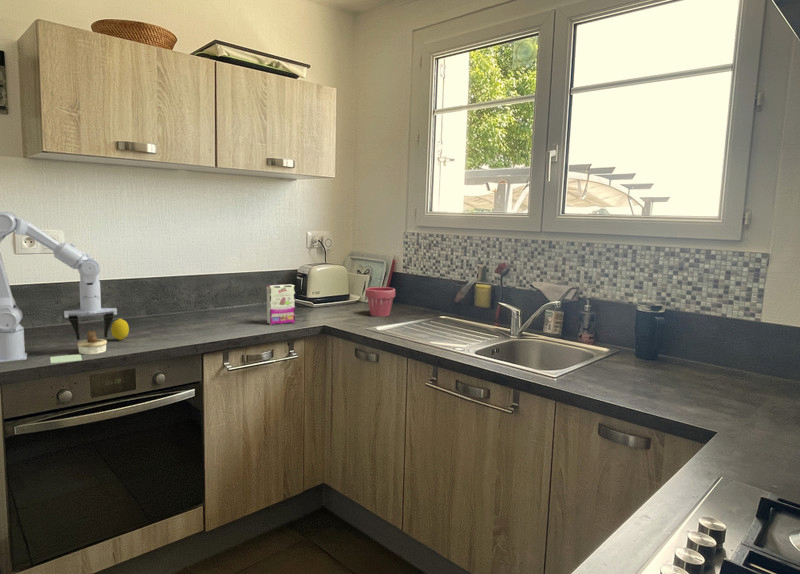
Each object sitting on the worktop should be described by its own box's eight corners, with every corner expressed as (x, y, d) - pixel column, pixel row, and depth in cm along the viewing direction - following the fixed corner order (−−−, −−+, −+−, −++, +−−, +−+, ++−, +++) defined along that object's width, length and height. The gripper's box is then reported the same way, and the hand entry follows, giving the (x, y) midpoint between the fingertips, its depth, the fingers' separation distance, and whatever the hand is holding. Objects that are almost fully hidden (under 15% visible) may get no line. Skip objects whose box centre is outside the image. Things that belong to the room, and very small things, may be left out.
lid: (77, 348, 167) (76, 334, 167) (77, 342, 174) (76, 329, 173) (107, 345, 171) (106, 332, 171) (106, 340, 178) (105, 327, 178)
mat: (50, 364, 158) (50, 363, 158) (50, 357, 165) (50, 357, 165) (82, 360, 163) (82, 359, 162) (80, 355, 169) (80, 354, 169)
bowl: (79, 356, 168) (79, 347, 168) (78, 350, 174) (77, 342, 174) (107, 353, 172) (106, 345, 172) (104, 348, 178) (104, 340, 178)
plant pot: (358, 314, 256) (359, 287, 255) (381, 311, 266) (382, 286, 264) (378, 319, 246) (378, 291, 244) (400, 316, 255) (401, 289, 254)
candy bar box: (291, 321, 235) (291, 283, 233) (295, 323, 230) (295, 285, 228) (266, 323, 229) (266, 284, 226) (270, 325, 224) (270, 286, 222)
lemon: (109, 342, 186) (109, 320, 185) (113, 339, 191) (112, 317, 190) (127, 342, 188) (126, 319, 187) (130, 338, 193) (130, 316, 192)
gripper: (63, 299, 164) (66, 342, 165) (117, 296, 172) (118, 338, 173) (63, 296, 169) (65, 338, 171) (114, 293, 177) (116, 334, 179)
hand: (92, 338), depth 173 cm, fingers open, 7 cm apart
